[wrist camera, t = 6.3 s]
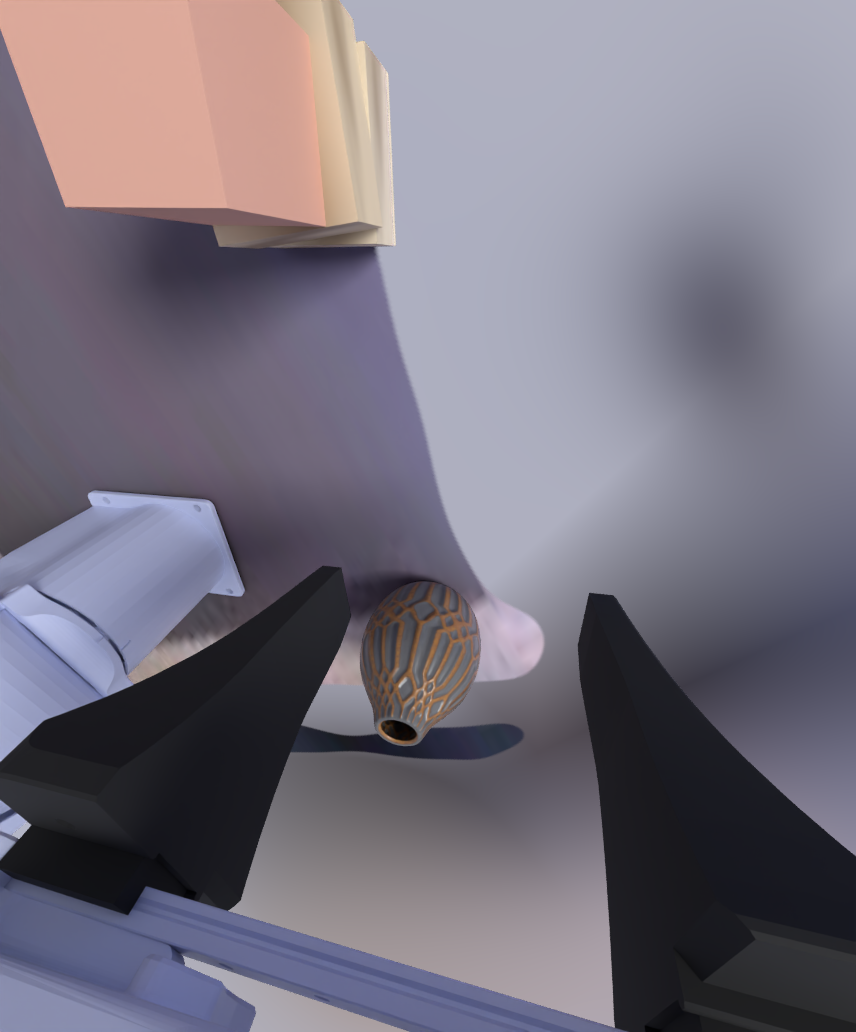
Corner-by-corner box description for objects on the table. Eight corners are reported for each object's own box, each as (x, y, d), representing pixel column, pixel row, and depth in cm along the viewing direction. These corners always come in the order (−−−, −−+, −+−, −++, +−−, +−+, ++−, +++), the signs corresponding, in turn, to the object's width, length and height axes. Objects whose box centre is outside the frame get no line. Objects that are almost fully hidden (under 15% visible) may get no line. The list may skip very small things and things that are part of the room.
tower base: (285, 248, 18) (253, 246, 16) (259, 86, 15) (215, 58, 13) (395, 246, 17) (377, 243, 15) (388, 73, 14) (364, 41, 12)
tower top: (260, 248, 16) (218, 246, 13) (208, 63, 13) (148, 25, 11) (383, 227, 14) (358, 221, 12) (352, 19, 12) (315, -33, 10)
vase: (439, 654, 29) (410, 784, 22) (364, 600, 28) (306, 719, 21) (508, 610, 26) (500, 748, 18) (425, 544, 24) (381, 665, 17)
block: (210, 225, 13) (65, 207, 9) (171, 44, 11) (-43, -89, 7) (326, 226, 12) (227, 208, 8) (308, 35, 10) (164, -117, 6)
